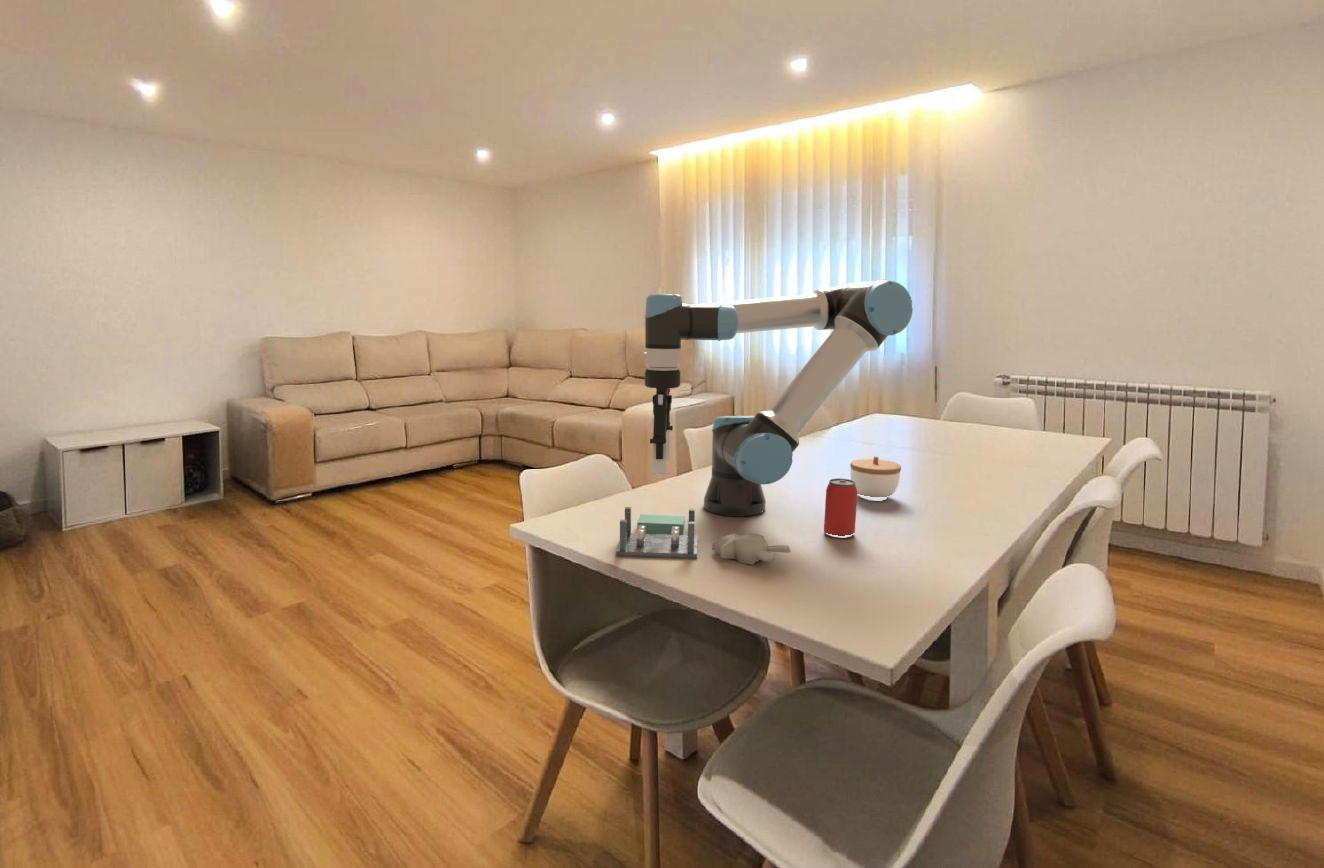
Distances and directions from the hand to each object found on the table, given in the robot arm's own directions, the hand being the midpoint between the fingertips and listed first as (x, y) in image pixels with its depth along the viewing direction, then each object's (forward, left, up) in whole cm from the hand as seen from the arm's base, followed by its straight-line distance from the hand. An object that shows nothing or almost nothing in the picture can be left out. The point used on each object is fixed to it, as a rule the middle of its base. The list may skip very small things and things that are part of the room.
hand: (661, 466), depth 147 cm
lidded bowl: (-54, -32, -15) cm, 65 cm away
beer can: (-39, -1, -15) cm, 42 cm away
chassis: (0, +11, -14) cm, 18 cm away
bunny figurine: (-18, +16, -15) cm, 29 cm away
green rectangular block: (0, 0, -15) cm, 15 cm away
